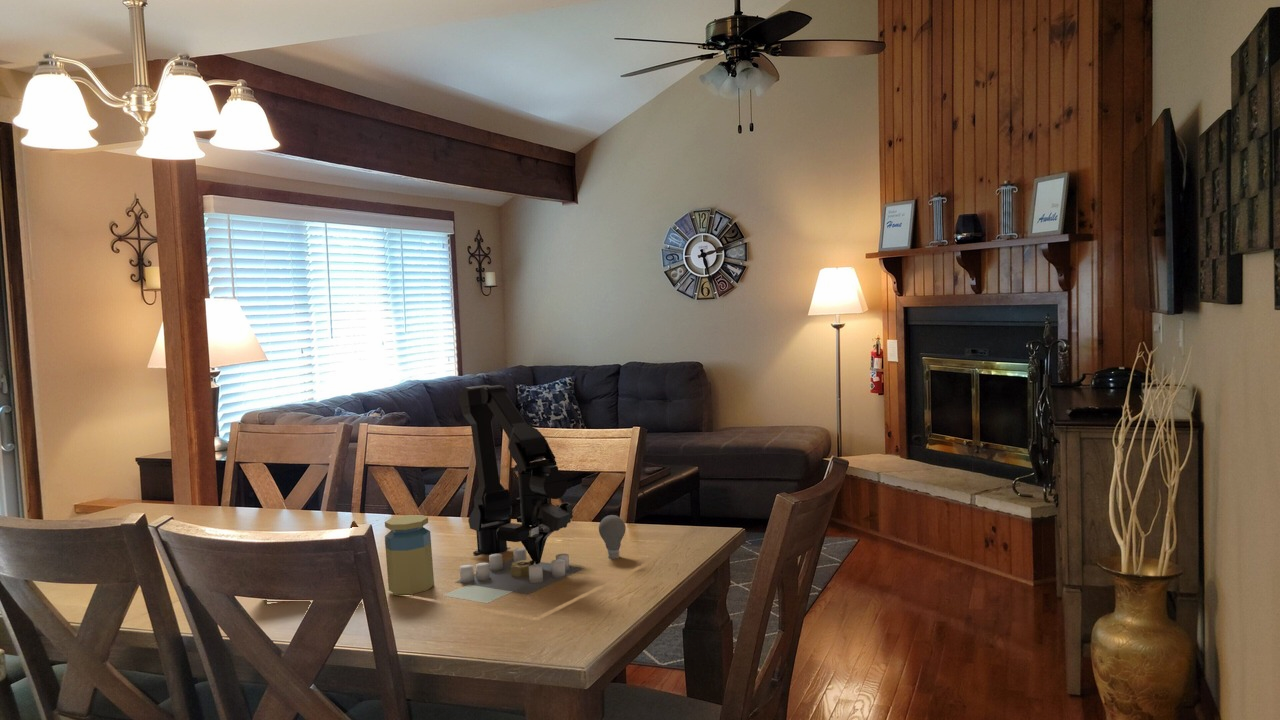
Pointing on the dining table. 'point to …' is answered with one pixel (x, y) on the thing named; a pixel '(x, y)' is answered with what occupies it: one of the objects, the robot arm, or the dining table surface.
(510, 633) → the dining table surface
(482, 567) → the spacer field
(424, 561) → the jar
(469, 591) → the tile
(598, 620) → the dining table surface
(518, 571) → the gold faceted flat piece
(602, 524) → the light bulb
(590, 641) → the dining table surface
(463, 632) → the dining table surface
